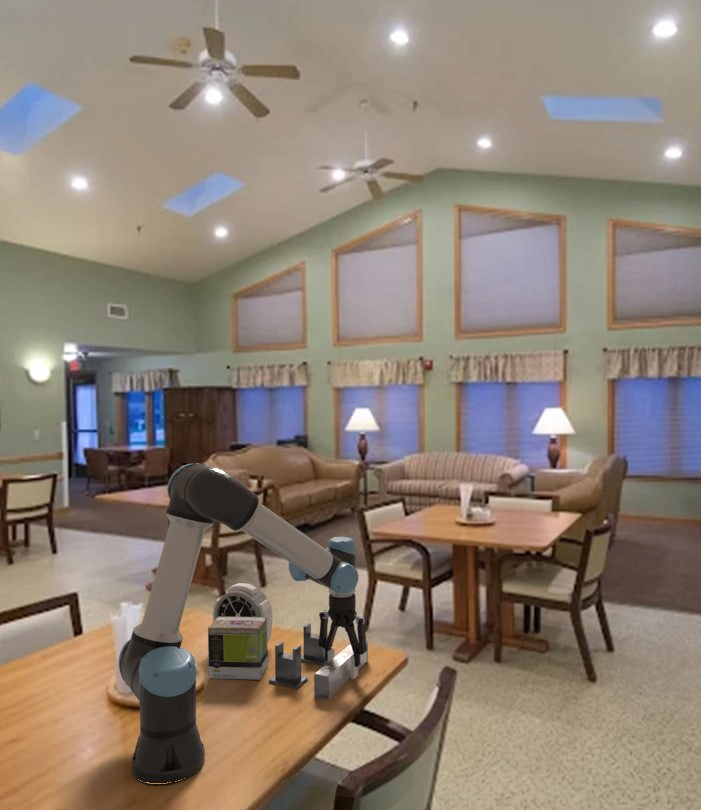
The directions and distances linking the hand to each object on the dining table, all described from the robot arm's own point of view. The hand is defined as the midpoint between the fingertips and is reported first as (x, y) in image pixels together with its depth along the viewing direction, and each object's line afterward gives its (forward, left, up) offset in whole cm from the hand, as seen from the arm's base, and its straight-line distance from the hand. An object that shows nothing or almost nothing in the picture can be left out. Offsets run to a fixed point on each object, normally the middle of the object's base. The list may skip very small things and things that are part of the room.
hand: (342, 674), depth 177 cm
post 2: (+8, +13, -1) cm, 15 cm away
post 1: (-8, +13, -1) cm, 15 cm away
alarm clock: (+6, +38, -1) cm, 38 cm away
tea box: (-9, +29, -1) cm, 30 cm away
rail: (0, 0, -1) cm, 1 cm away
